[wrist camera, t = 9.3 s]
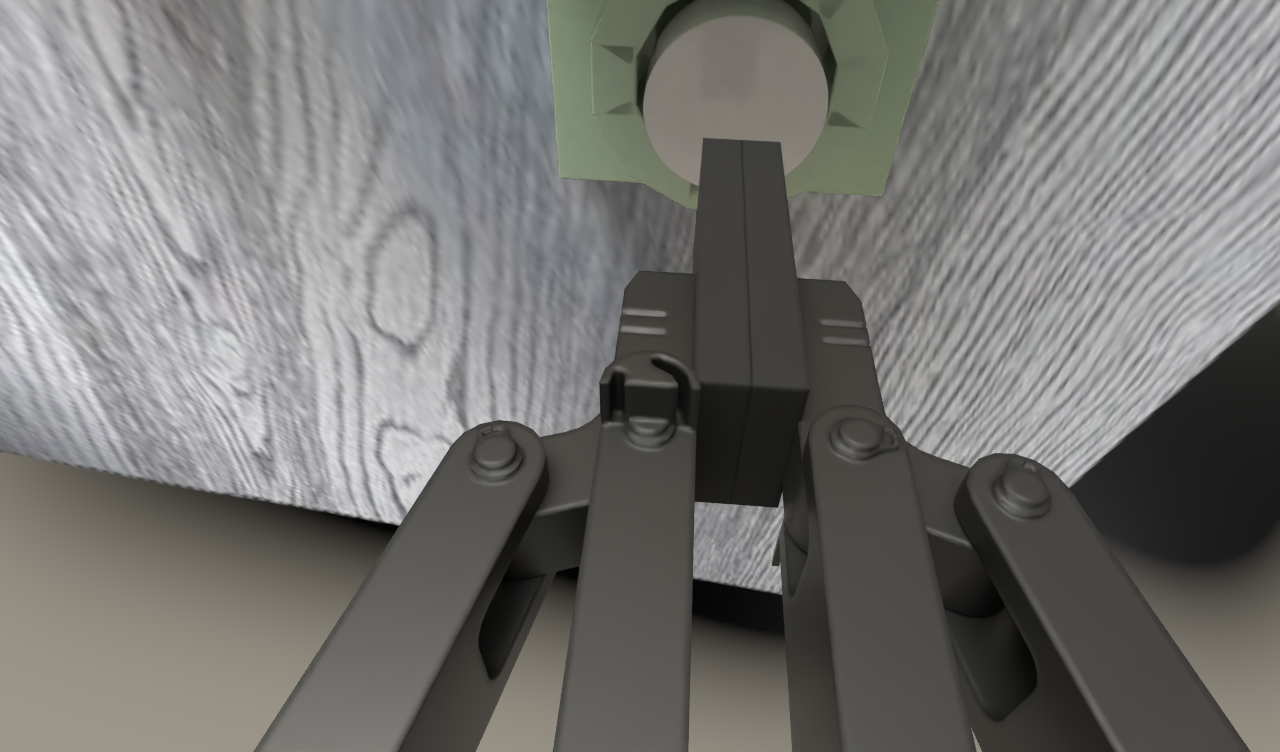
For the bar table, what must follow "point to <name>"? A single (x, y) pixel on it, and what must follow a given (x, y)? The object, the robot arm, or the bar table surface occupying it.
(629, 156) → the green push button box
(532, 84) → the bar table surface
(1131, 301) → the bar table surface
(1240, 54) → the bar table surface
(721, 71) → the flush button
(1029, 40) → the bar table surface
